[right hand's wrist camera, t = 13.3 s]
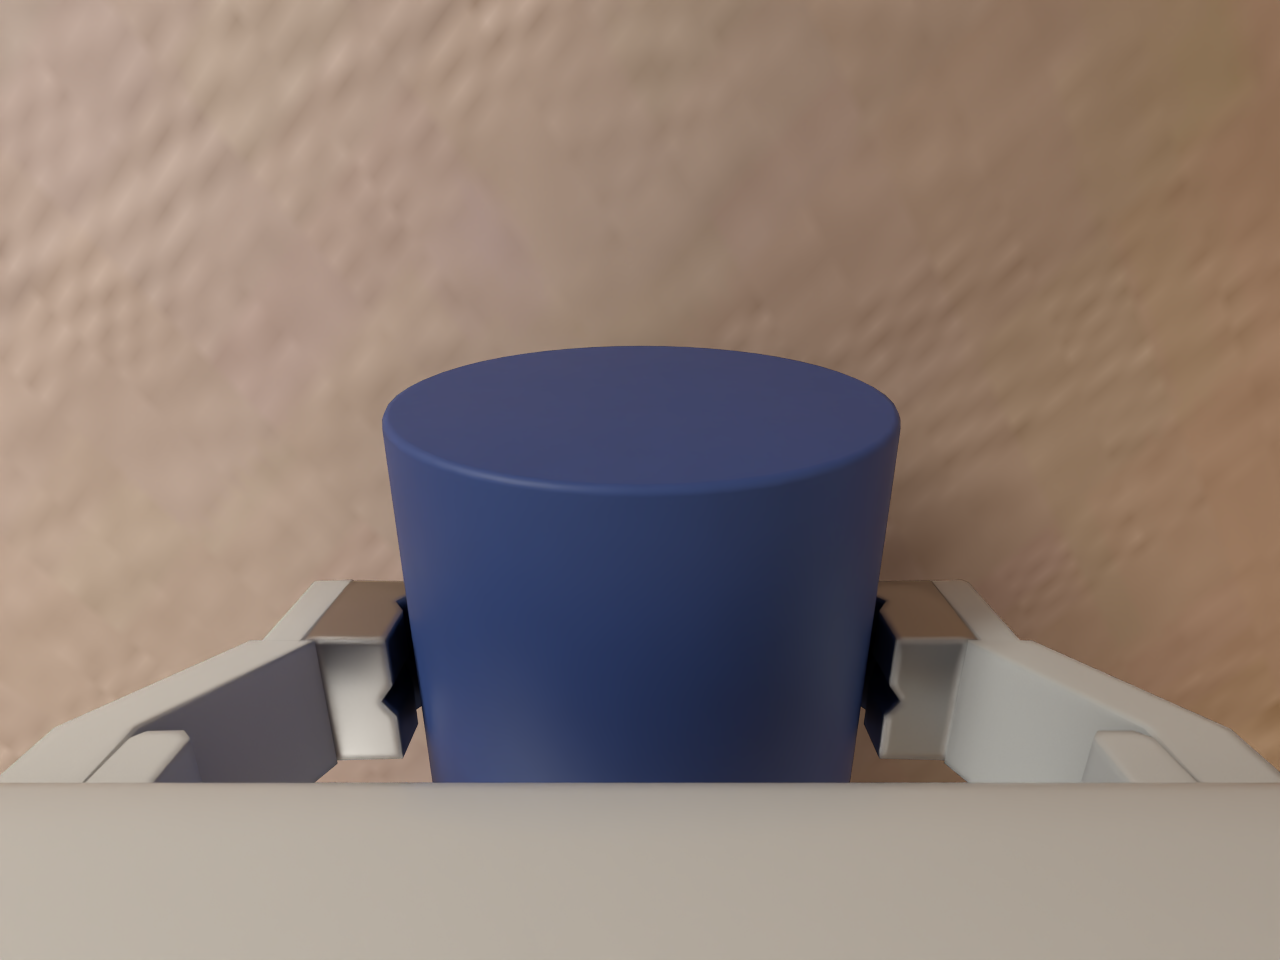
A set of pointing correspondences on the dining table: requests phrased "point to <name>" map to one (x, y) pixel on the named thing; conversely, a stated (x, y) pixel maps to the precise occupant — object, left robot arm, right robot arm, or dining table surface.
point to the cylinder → (641, 563)
